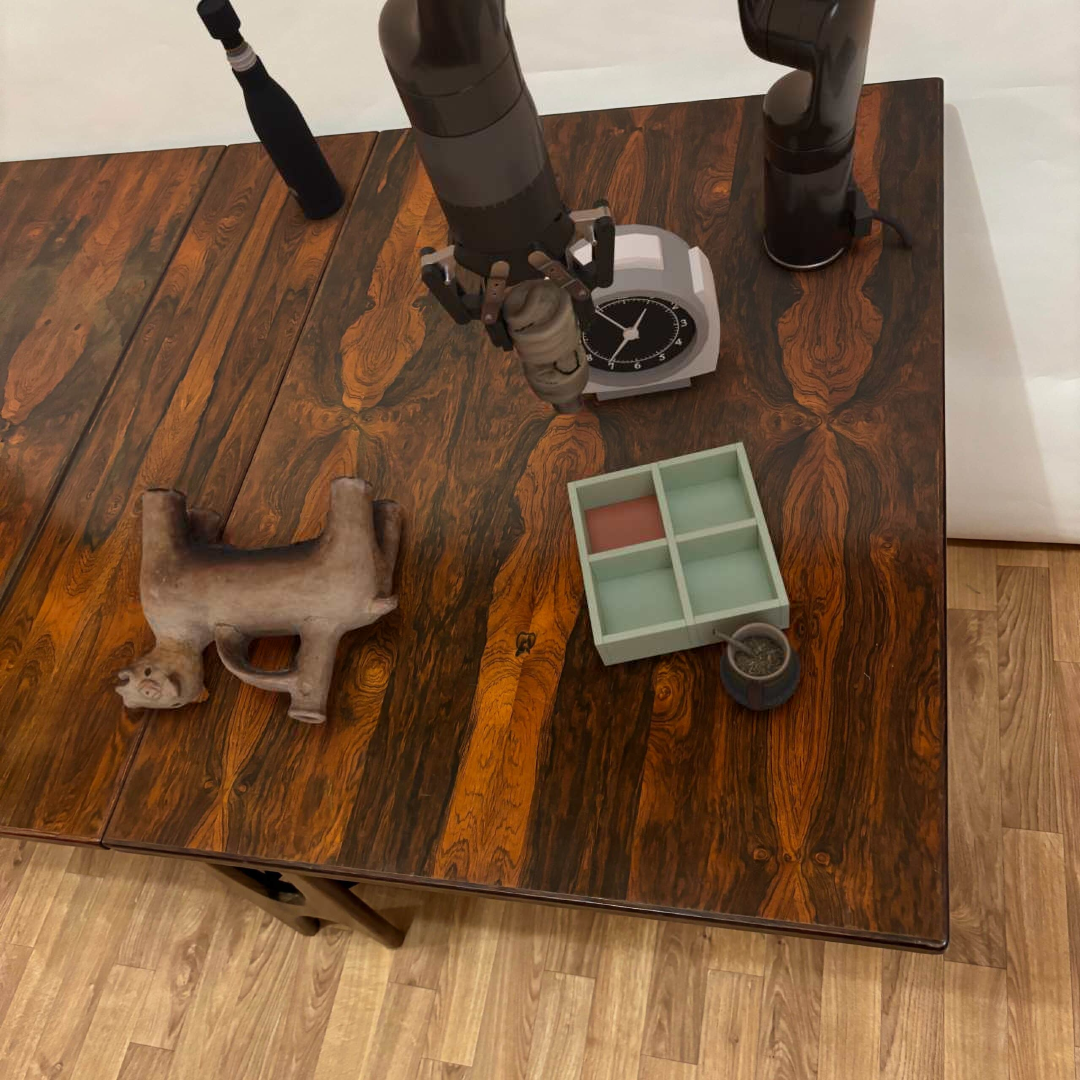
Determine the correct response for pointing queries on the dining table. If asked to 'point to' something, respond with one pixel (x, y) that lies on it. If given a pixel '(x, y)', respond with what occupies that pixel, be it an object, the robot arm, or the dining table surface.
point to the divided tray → (675, 554)
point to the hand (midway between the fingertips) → (546, 332)
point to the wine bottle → (275, 118)
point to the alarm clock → (650, 315)
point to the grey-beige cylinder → (548, 343)
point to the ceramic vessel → (258, 596)
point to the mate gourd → (759, 666)
